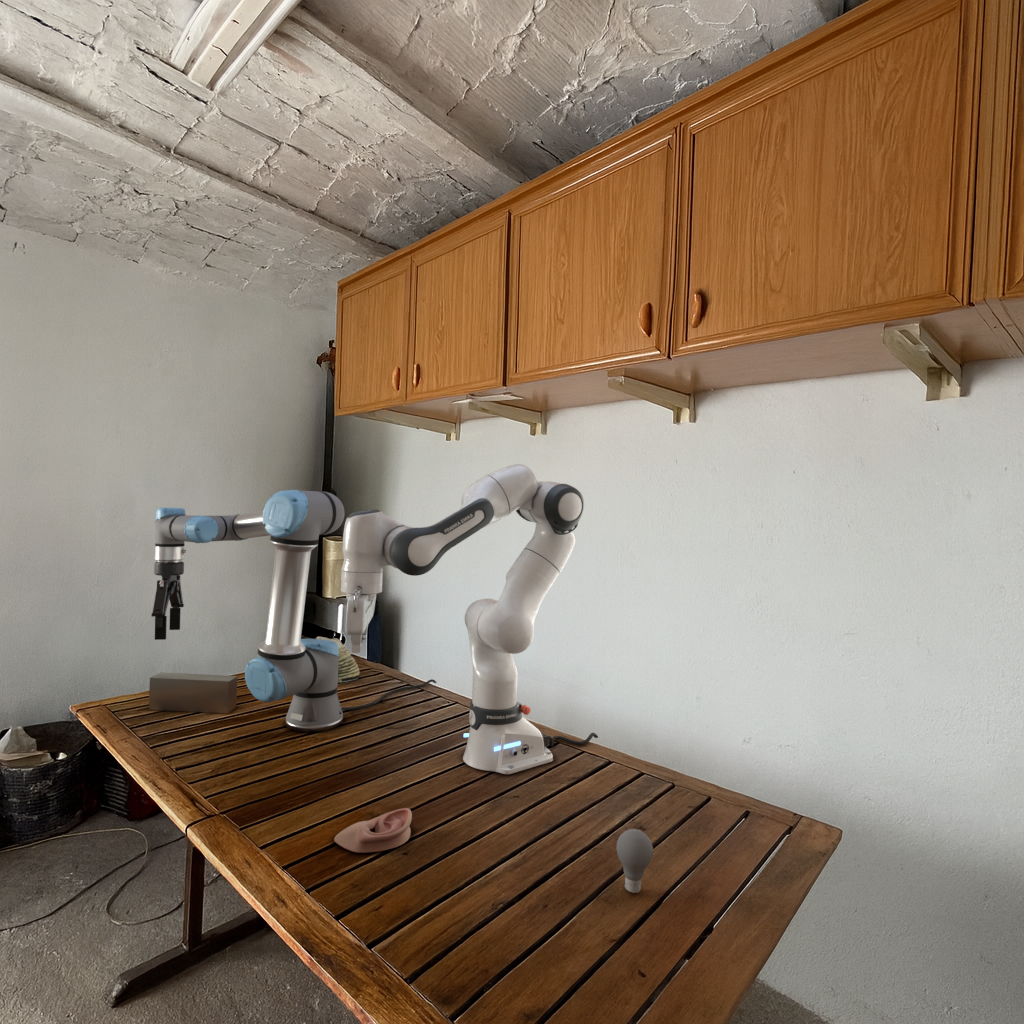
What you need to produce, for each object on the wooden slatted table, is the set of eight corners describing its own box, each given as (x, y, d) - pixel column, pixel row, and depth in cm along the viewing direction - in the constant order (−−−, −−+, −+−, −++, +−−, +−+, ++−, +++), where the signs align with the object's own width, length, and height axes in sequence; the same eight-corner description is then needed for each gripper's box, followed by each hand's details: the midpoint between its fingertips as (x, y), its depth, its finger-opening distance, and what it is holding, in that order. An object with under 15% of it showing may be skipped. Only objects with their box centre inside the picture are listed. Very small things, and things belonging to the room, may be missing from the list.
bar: (148, 709, 181) (149, 677, 181) (159, 703, 186) (160, 672, 186) (227, 713, 181) (229, 681, 180) (236, 707, 186) (237, 675, 186)
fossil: (300, 681, 213) (301, 637, 213) (350, 673, 226) (352, 631, 226) (311, 688, 207) (313, 642, 207) (362, 679, 219) (364, 636, 219)
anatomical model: (326, 826, 114) (355, 797, 125) (325, 847, 114) (354, 817, 126) (396, 837, 112) (418, 806, 123) (395, 859, 112) (417, 827, 123)
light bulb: (610, 879, 108) (613, 822, 108) (644, 879, 109) (647, 822, 109) (619, 902, 102) (622, 840, 102) (655, 901, 103) (658, 840, 103)
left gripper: (170, 565, 171) (169, 643, 172) (195, 557, 196) (193, 625, 196) (140, 565, 170) (138, 644, 170) (168, 557, 194) (166, 626, 194)
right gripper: (371, 591, 128) (368, 659, 128) (380, 578, 148) (378, 637, 149) (339, 590, 127) (336, 658, 128) (353, 577, 148) (350, 636, 148)
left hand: (167, 634), depth 183 cm, fingers open, 13 cm apart
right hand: (359, 646), depth 138 cm, fingers open, 8 cm apart
